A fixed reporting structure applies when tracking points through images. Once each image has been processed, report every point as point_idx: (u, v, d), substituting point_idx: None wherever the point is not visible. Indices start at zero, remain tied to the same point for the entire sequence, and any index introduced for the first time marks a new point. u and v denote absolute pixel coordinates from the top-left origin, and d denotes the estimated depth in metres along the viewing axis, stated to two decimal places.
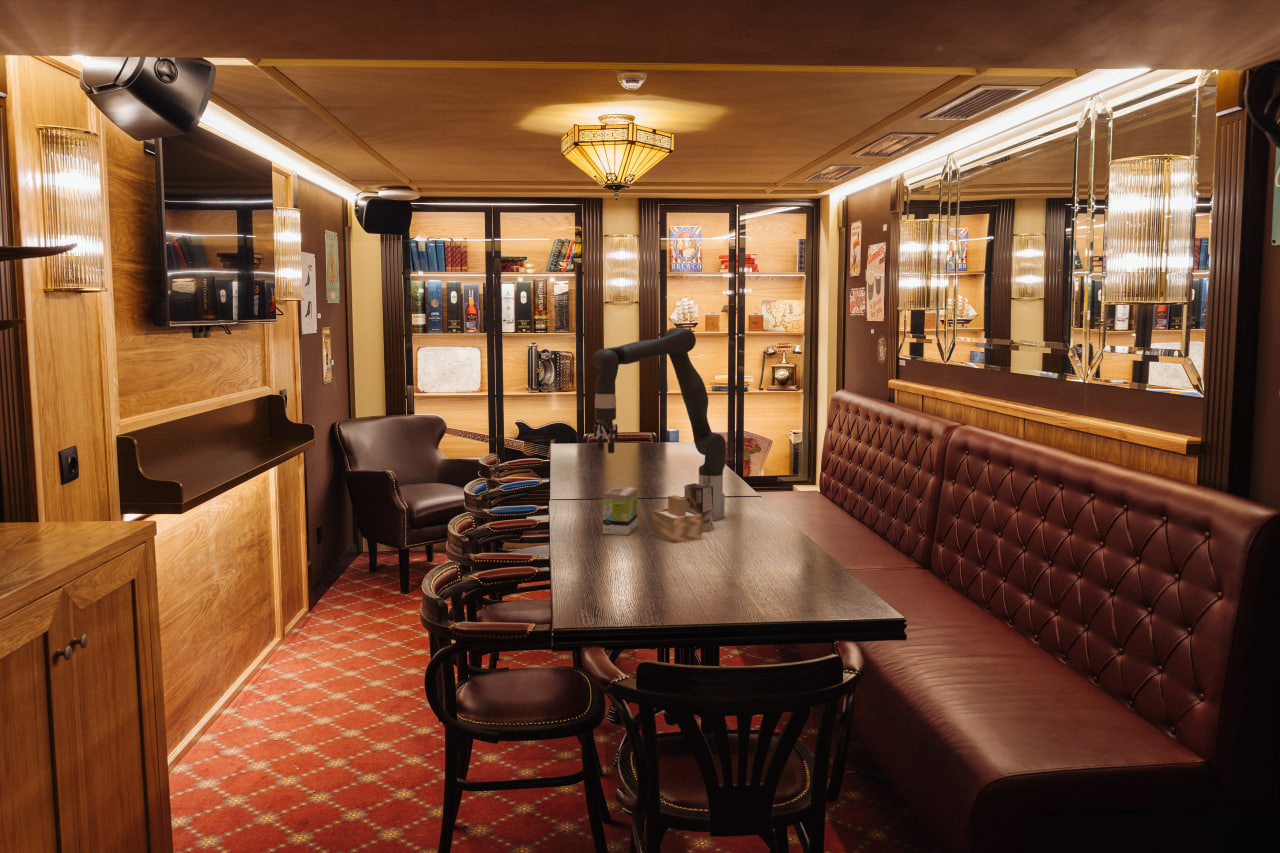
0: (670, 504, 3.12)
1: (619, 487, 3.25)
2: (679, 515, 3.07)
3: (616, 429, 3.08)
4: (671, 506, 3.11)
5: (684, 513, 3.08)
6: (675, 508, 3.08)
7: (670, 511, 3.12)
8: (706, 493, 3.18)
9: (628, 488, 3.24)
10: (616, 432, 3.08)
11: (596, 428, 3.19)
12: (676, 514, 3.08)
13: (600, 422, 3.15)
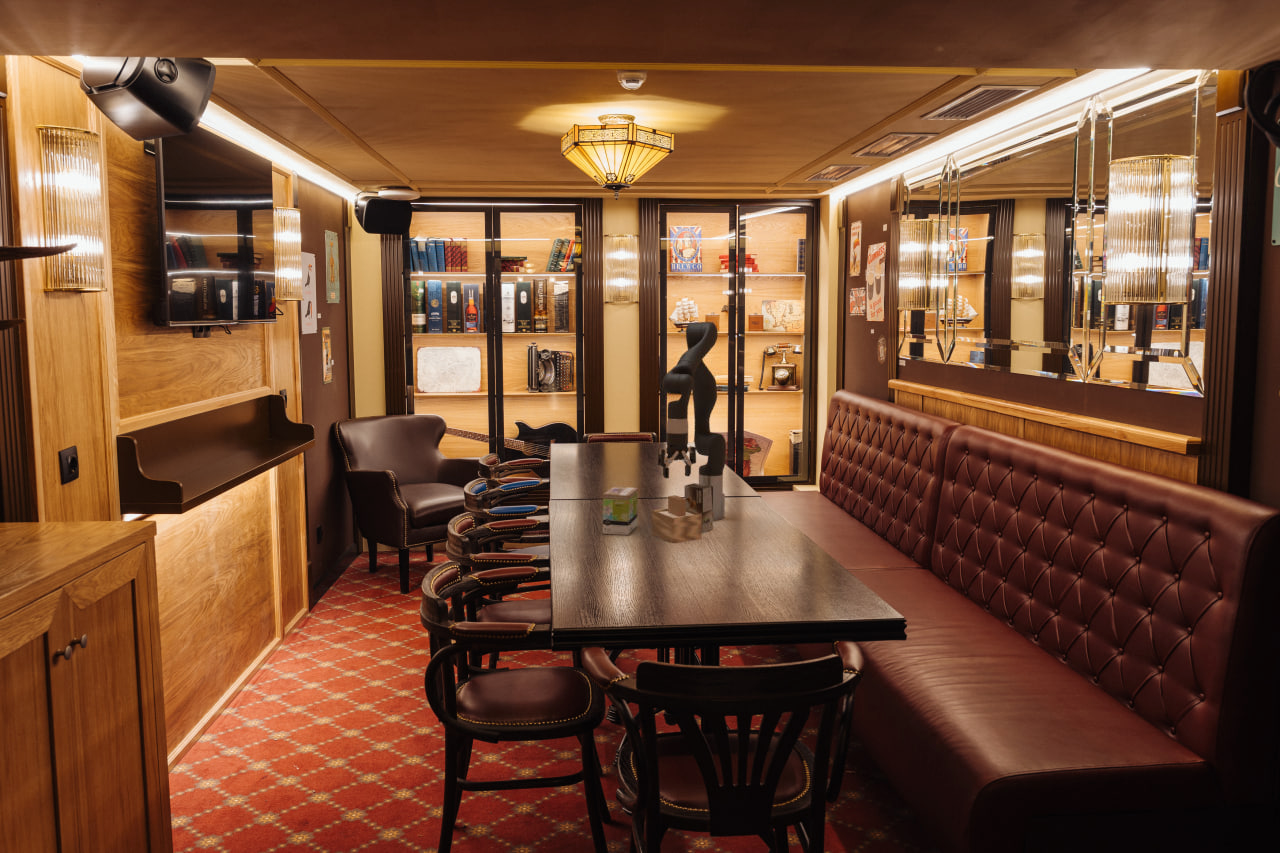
0: (670, 504, 3.12)
1: (619, 487, 3.26)
2: (679, 515, 3.07)
3: None
4: (671, 506, 3.11)
5: (684, 513, 3.08)
6: (675, 508, 3.08)
7: (670, 511, 3.12)
8: (706, 493, 3.18)
9: (628, 488, 3.24)
10: None
11: None
12: (676, 514, 3.08)
13: (674, 448, 3.06)
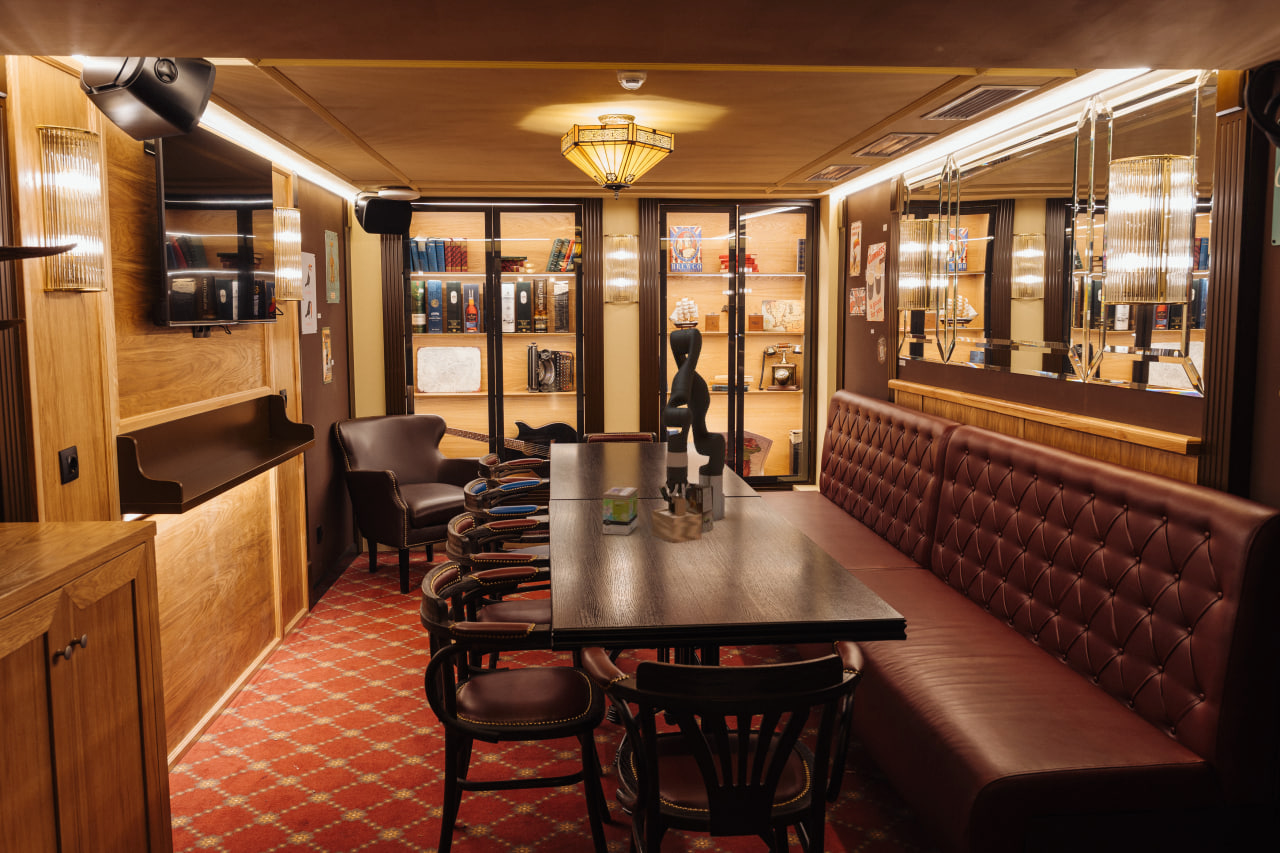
0: None
1: (619, 487, 3.25)
2: (679, 515, 3.07)
3: None
4: None
5: (684, 513, 3.08)
6: (675, 508, 3.08)
7: None
8: (706, 493, 3.18)
9: (628, 488, 3.24)
10: None
11: None
12: (676, 514, 3.08)
13: (674, 481, 3.08)
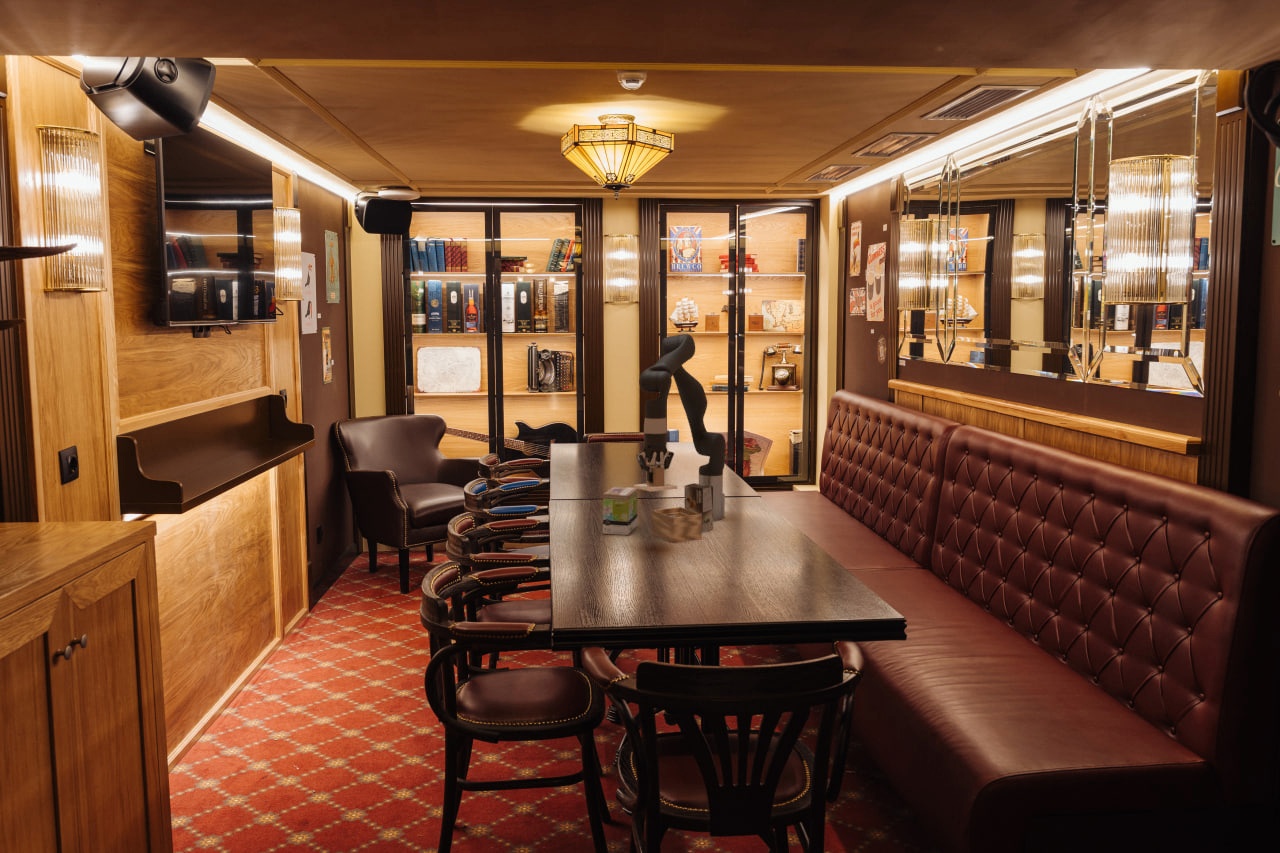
0: None
1: (619, 487, 3.25)
2: (657, 485, 2.91)
3: None
4: None
5: (663, 483, 2.92)
6: (653, 478, 2.92)
7: (648, 482, 2.96)
8: (706, 493, 3.18)
9: (628, 488, 3.24)
10: None
11: None
12: (654, 484, 2.92)
13: (652, 449, 2.92)
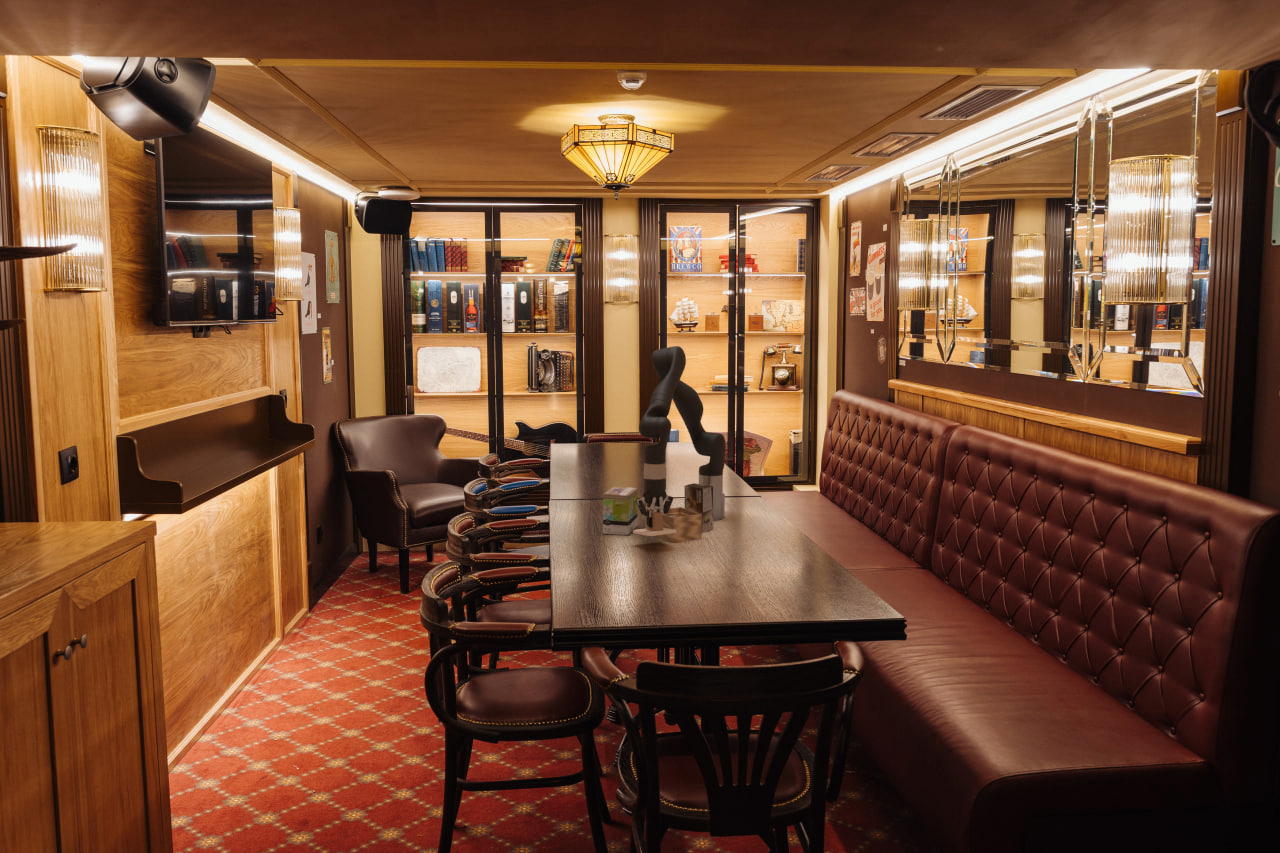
0: None
1: (619, 487, 3.25)
2: (656, 530, 2.93)
3: None
4: None
5: (662, 527, 2.94)
6: (652, 523, 2.95)
7: (647, 527, 2.98)
8: (706, 493, 3.18)
9: (628, 488, 3.24)
10: None
11: None
12: (653, 529, 2.94)
13: (651, 494, 2.93)
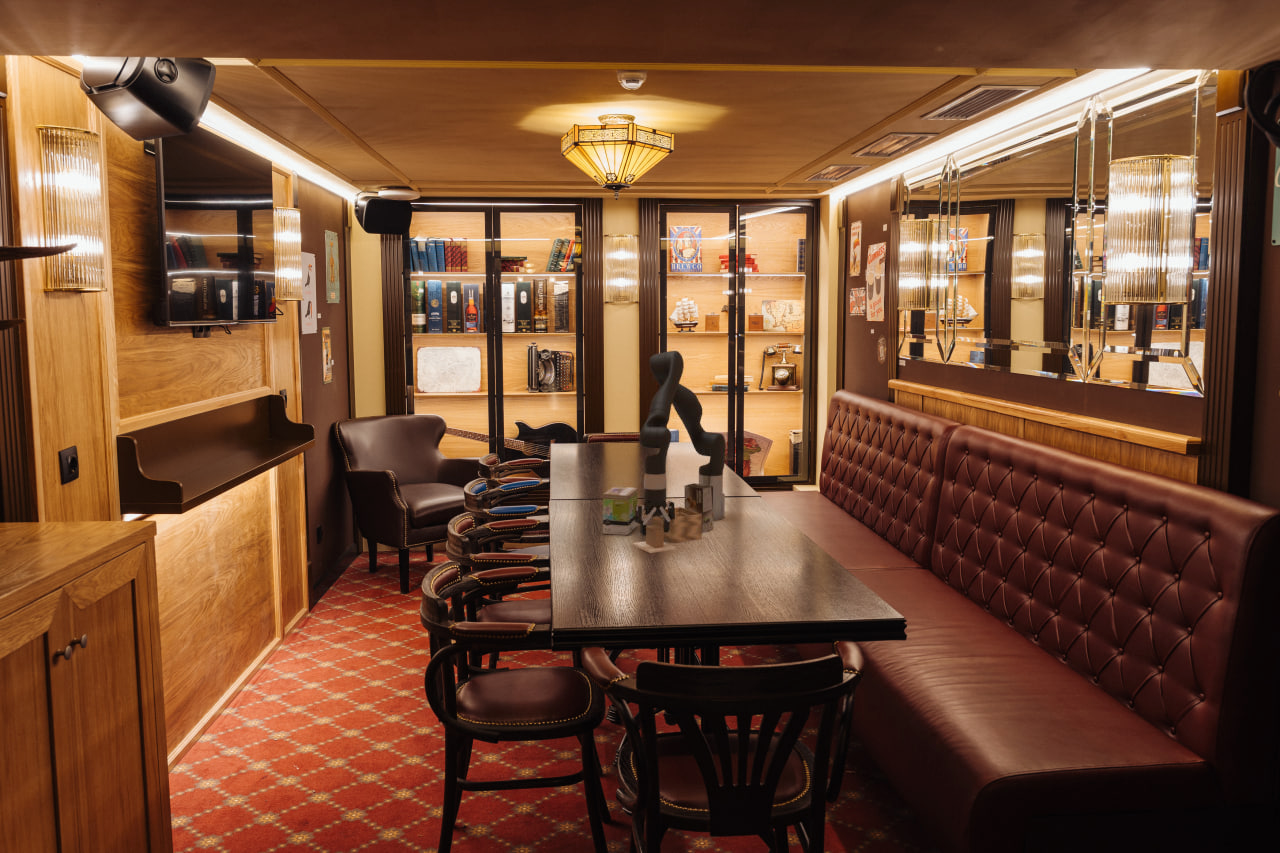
0: (647, 534, 2.98)
1: (619, 487, 3.25)
2: (656, 547, 2.94)
3: None
4: (649, 537, 2.97)
5: (662, 544, 2.95)
6: (653, 539, 2.95)
7: (648, 542, 2.98)
8: (706, 493, 3.18)
9: (628, 488, 3.24)
10: None
11: None
12: (653, 545, 2.95)
13: (651, 504, 2.94)
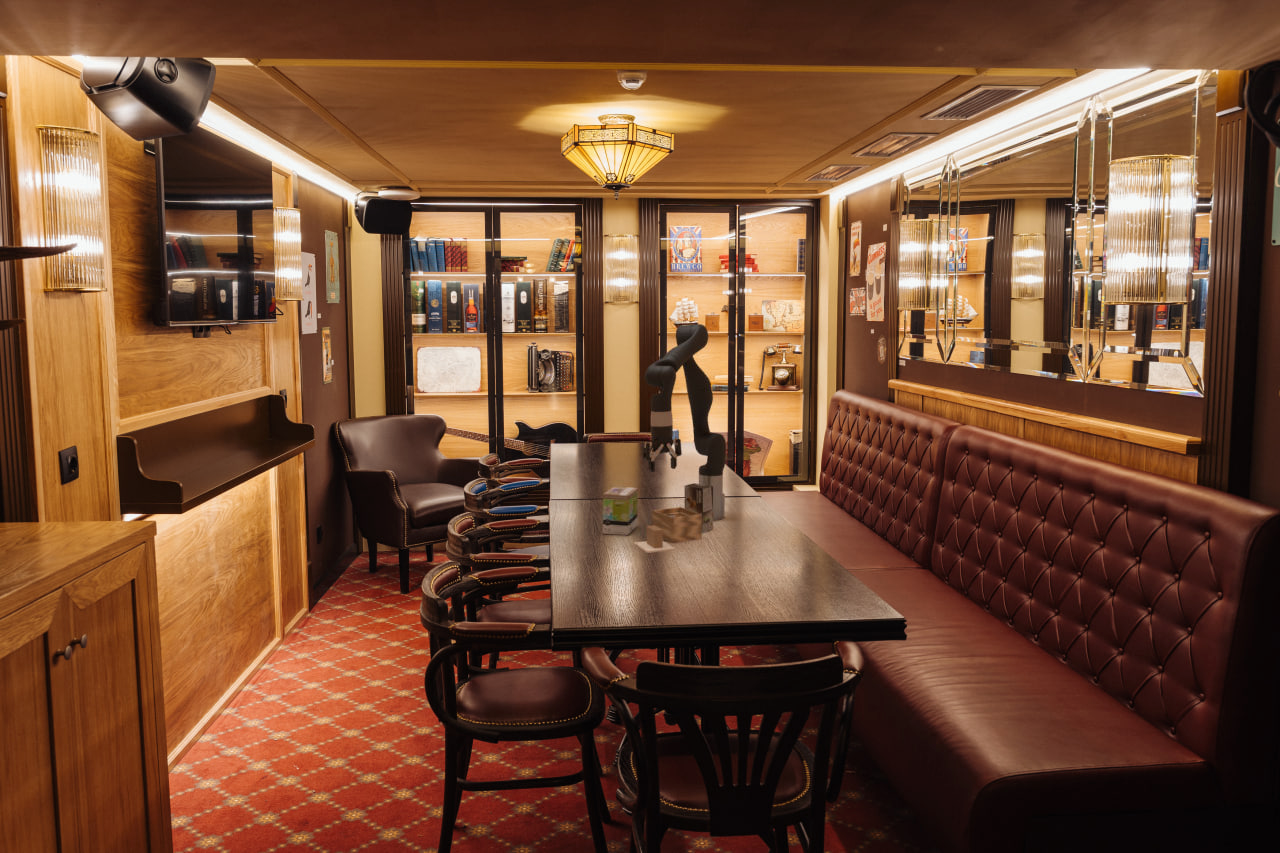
0: (647, 534, 2.99)
1: (619, 487, 3.25)
2: (655, 547, 2.94)
3: None
4: (649, 537, 2.98)
5: (661, 545, 2.95)
6: (652, 539, 2.95)
7: (648, 542, 2.99)
8: (706, 493, 3.18)
9: (628, 488, 3.24)
10: None
11: None
12: (652, 545, 2.95)
13: (659, 441, 3.03)
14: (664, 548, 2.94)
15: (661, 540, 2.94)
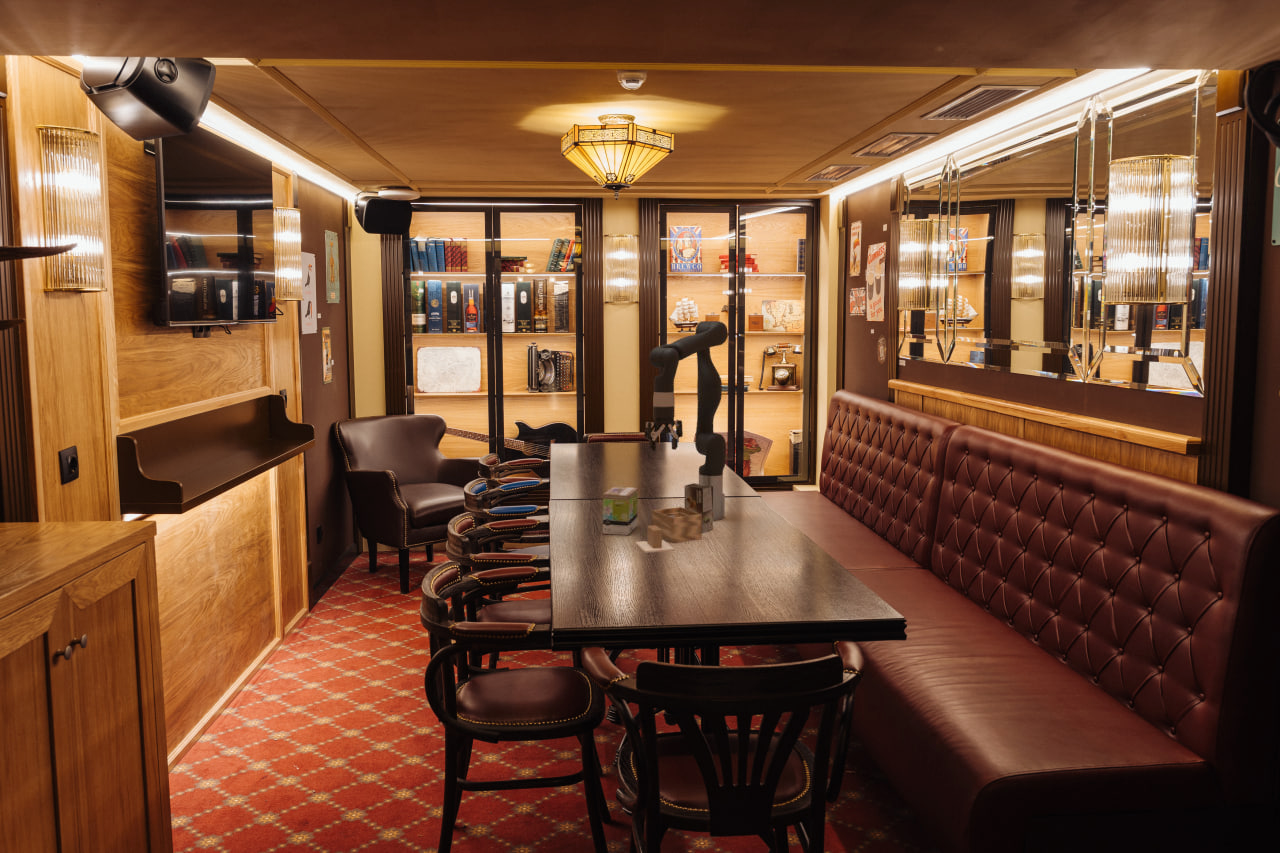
0: (648, 534, 2.99)
1: (619, 487, 3.25)
2: (654, 547, 2.94)
3: None
4: (649, 537, 2.98)
5: (660, 545, 2.94)
6: (651, 539, 2.95)
7: (648, 542, 2.99)
8: (706, 493, 3.18)
9: (628, 488, 3.24)
10: None
11: None
12: (652, 545, 2.95)
13: (660, 422, 3.09)
14: (663, 548, 2.93)
15: (660, 540, 2.94)
